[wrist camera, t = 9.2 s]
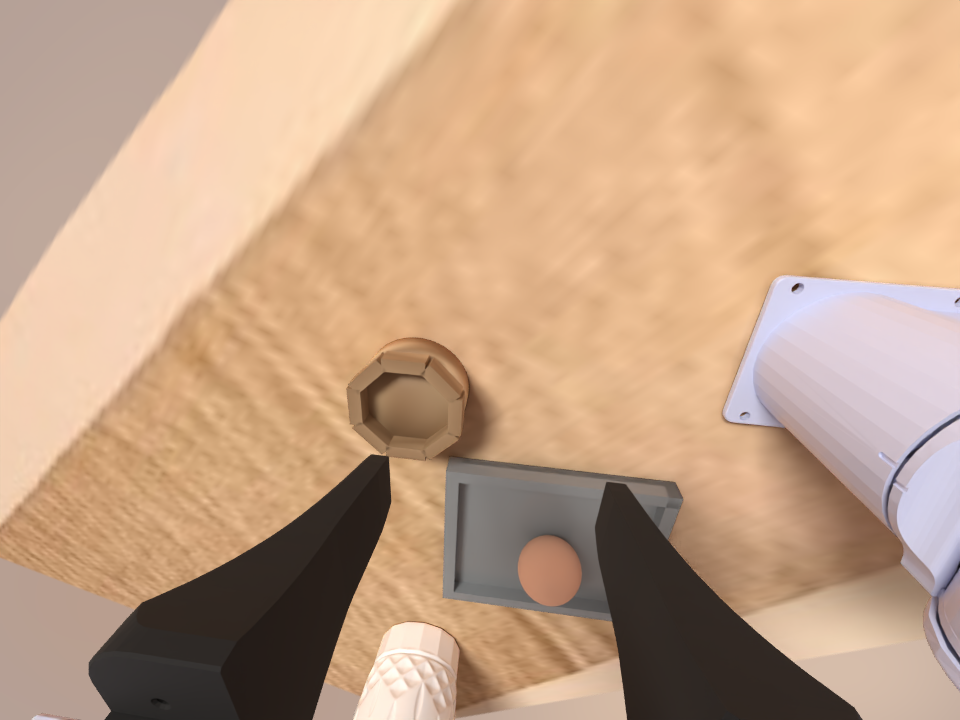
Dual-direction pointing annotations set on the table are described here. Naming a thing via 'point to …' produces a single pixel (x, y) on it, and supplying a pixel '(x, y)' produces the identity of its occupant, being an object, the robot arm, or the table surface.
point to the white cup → (412, 676)
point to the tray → (532, 528)
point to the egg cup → (410, 399)
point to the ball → (549, 570)
